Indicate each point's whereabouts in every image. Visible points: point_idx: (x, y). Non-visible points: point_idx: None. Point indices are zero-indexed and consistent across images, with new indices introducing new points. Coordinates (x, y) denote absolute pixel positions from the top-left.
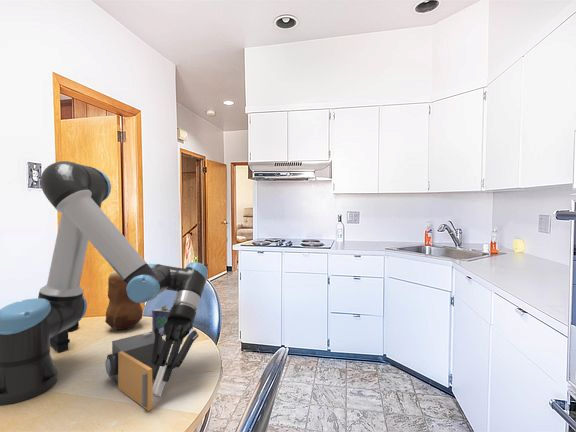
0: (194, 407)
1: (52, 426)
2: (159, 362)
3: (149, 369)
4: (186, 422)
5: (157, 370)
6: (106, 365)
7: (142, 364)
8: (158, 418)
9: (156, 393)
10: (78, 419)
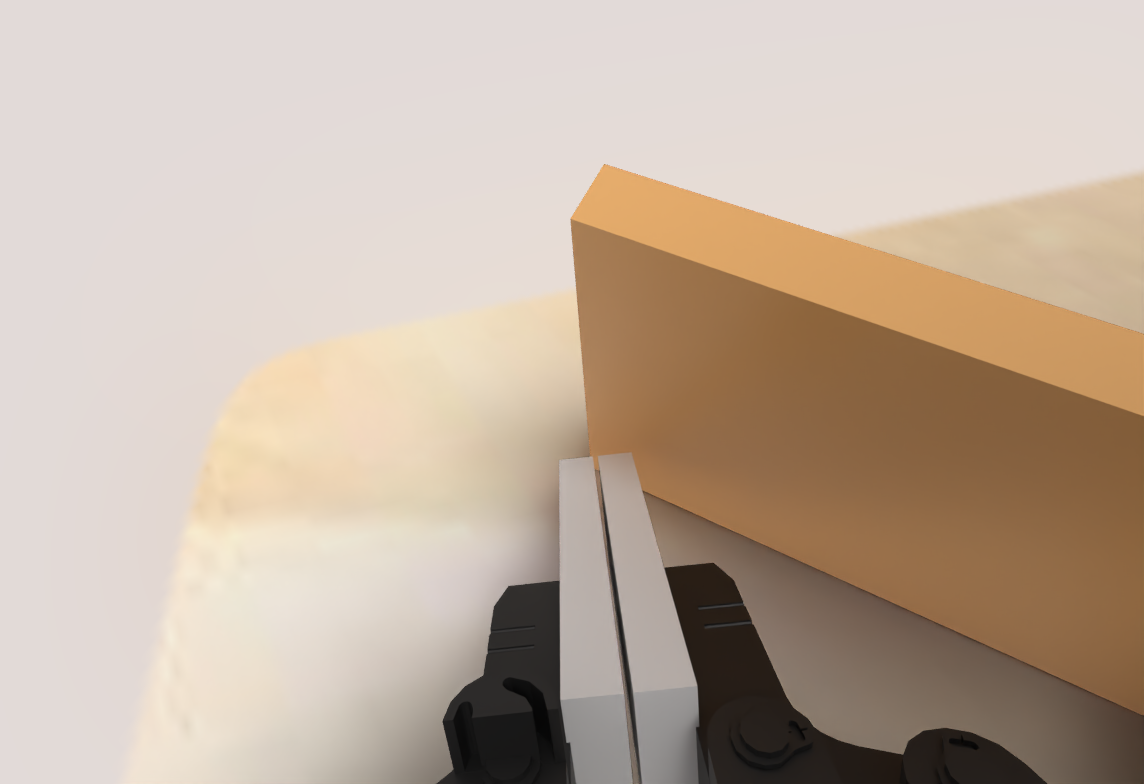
0: (231, 588)
1: (1131, 182)
2: (760, 746)
3: (600, 183)
4: (247, 402)
5: (728, 666)
6: None
7: (904, 299)
8: (477, 394)
9: (562, 461)
10: (1051, 263)
